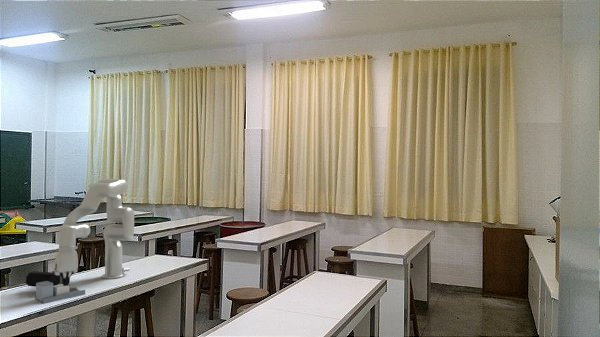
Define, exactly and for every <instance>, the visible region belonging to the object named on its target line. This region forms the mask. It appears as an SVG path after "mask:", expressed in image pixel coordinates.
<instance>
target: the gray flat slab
mask: <svg viewBox="0 0 600 337" xmlns="http://www.w3.org/2000/svg"><path fill="white" fill-rule="evenodd" d="M83 295H86V289H82V290H81V289H78V286H72V287H69V293H66V294H62V295H57V296H52V297H48V298H43V299H42V301H41V300H39V299H37V298H36V294H35V295H34V300H35V301H37V302H40V303H41V304H43V305H44V304H48V303H51V302H56V301H60V300H66V299H70V298H73V297H79V296H83Z"/></svg>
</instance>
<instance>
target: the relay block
mask: <svg viewBox="0 0 600 337" xmlns="http://www.w3.org/2000/svg"><path fill="white" fill-rule="evenodd" d="M51 272H53V273H55V271H54V270H52V271H51ZM66 274H67V272H66ZM61 284H62V277H61V276H60V282H59V284H58V285H61Z"/></svg>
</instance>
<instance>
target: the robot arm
mask: <svg viewBox="0 0 600 337" xmlns="http://www.w3.org/2000/svg"><path fill="white" fill-rule="evenodd" d="M127 190H128V182H127V181H126V180H125V179H122V178H103V179H99V180H98V182H95V183H92V184H91V185H90V186H89V188H88V189H87V191H86V194H85V195H84V198H83V200H82V202H81V203H80V205H79V206H77V207H76V208H75V209H74V210H72V211H71V212H70V213H69V214H68V215H66V217H65V220H64V221H63V223H62V225H61V226H60V227H59V235H58V236H59V238H58V252H56V255H55V259H54V266H53V271H55V275H60V276H61V277H62V284H63V285H64V286H67V285H69V286H70V282H71V277H72V275H74V274H75V273H78V269H79V259H78V257H79V256H78V252H77V249H79V246H78V245H76V244H77V240H76V239H84V238H87V237H88V236H90V234H91V227H90V226H89V225H88V224H87V223H77V222H78V221H80V219H82V218H84V217H86V216H89V215H92V214H94V213H96V212H97V210H98V208H99V206H100V204H101V203H102V202H101V201H102V199H105V200H106V219H107V221H108V222H111V224H108V225H106V226H105V227H104V228H103V239H104V245H105V247H104V252H105V253H104V273H103V274H102V275H101V278H103V279H106V280H107V279H108V280H110V279H111V280H112V279H113V280H114V279H119V278H123V277H124V276H126V275H125V272H129V271H130V267H126V268H125V267H123V244H122V243H121V241H131V240H132V239H133V238H134V235H135V212H134V210H133V208H131V207H129V206H123V203H122V202H123V200H122V196H121V195H122V194H124V193H125V192H126V191H127ZM113 223H118V224H113ZM119 223H122V224H119ZM66 272H67V274H66Z"/></svg>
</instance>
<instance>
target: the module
mask: <svg viewBox="0 0 600 337" xmlns="http://www.w3.org/2000/svg"><path fill="white" fill-rule="evenodd" d="M69 288H71V287H70V284H69V285H67V286H64V285H63V284H60V285H55V286H53V296H57V295H62V294H66V293H69Z"/></svg>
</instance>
